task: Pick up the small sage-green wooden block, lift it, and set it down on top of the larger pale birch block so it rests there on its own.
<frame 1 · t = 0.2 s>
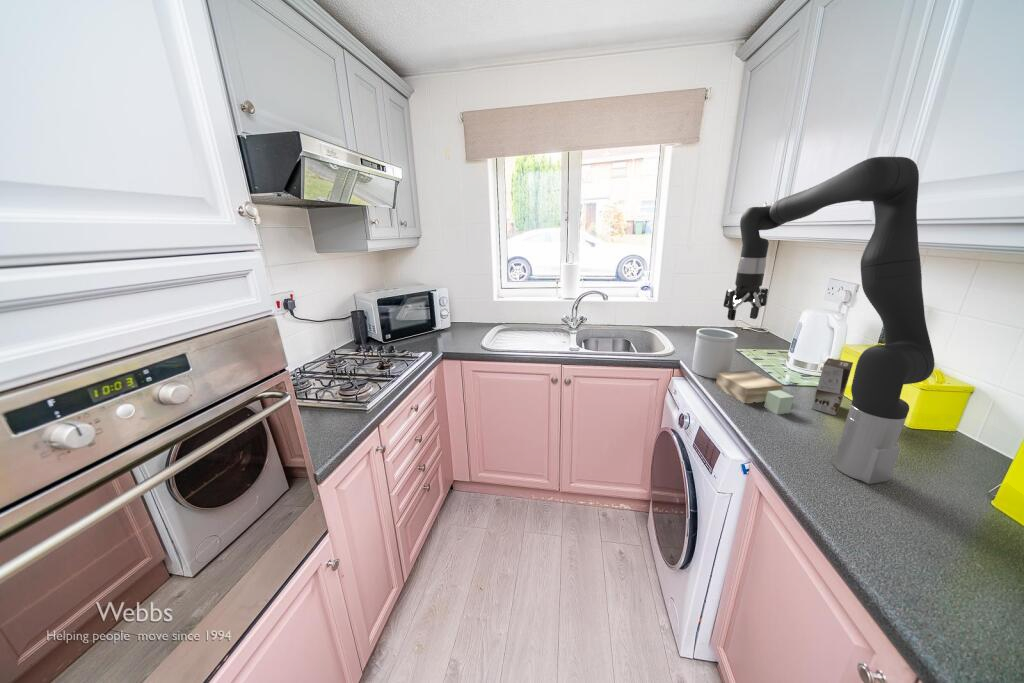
hand: (742, 319, 120), 28 cm above the counter, tool pointing down, fingers open, 8 cm apart
utensil holder: (710, 372, 148), on the counter
birch block: (745, 393, 129), on the counter
sage block: (776, 410, 117), on the counter
coffee box: (825, 408, 118), on the counter
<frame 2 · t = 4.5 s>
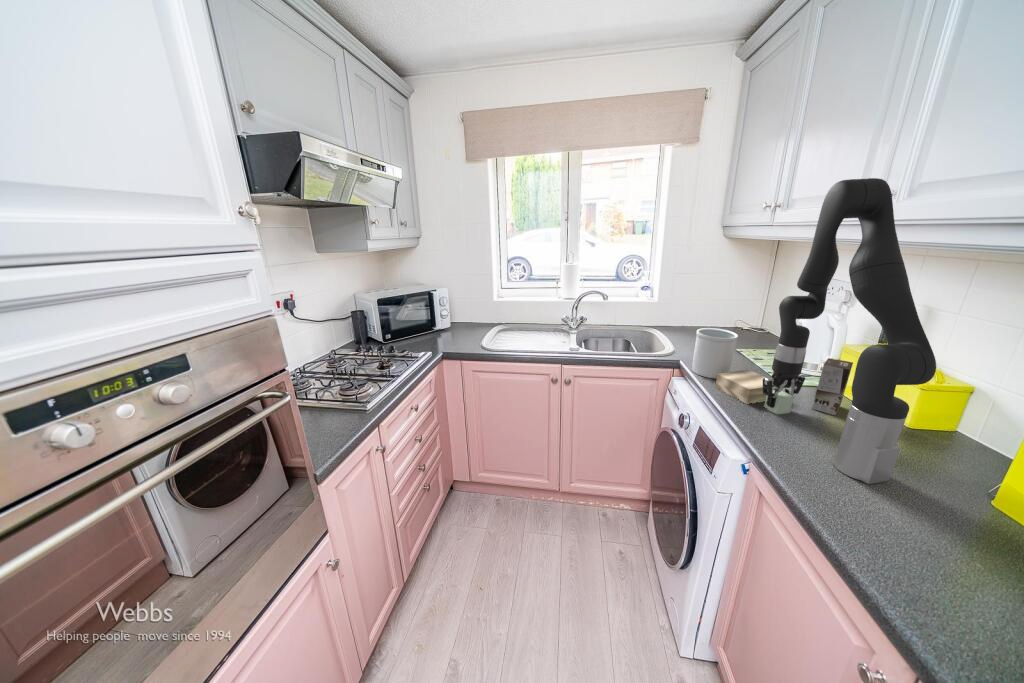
hand: (777, 405, 116), 2 cm above the counter, tool pointing down, fingers closed on sage block, 5 cm apart
sage block: (776, 409, 117), on the counter, touching gripper
everything else where it was.
when the fingers open (9 cm above the counter, at t = 11.5 s): sage block drops 2 cm, resting on birch block.
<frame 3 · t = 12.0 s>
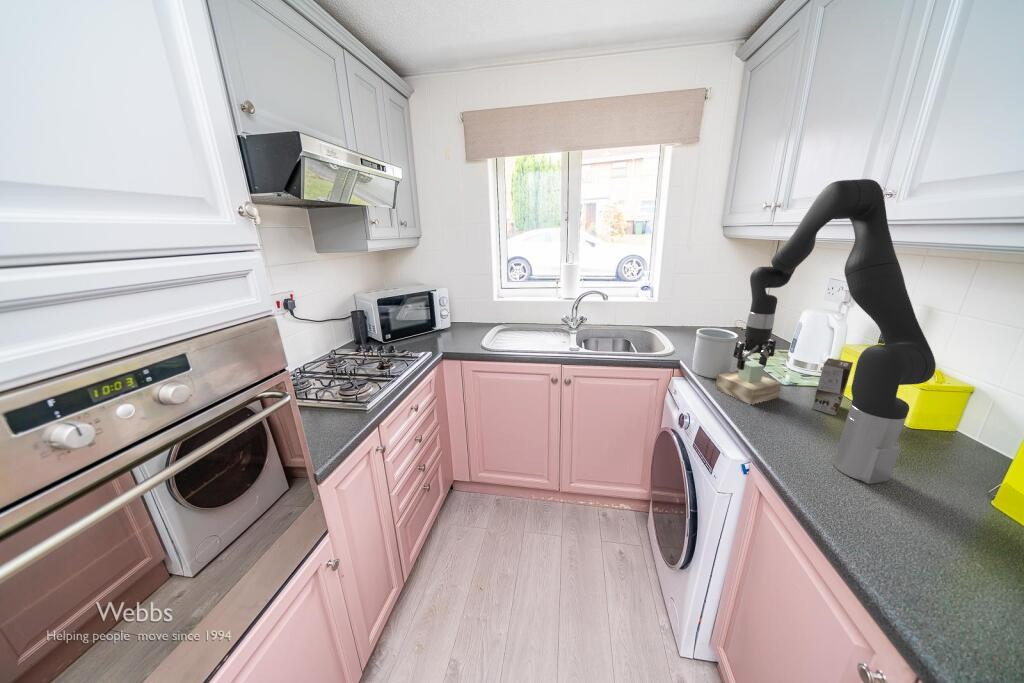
hand: (750, 368, 126), 10 cm above the counter, tool pointing down, fingers open, 8 cm apart
birch block: (745, 393, 129), on the counter, touching sage block
sage block: (749, 379, 127), point 6 cm above the counter, touching birch block
everything else where it was.
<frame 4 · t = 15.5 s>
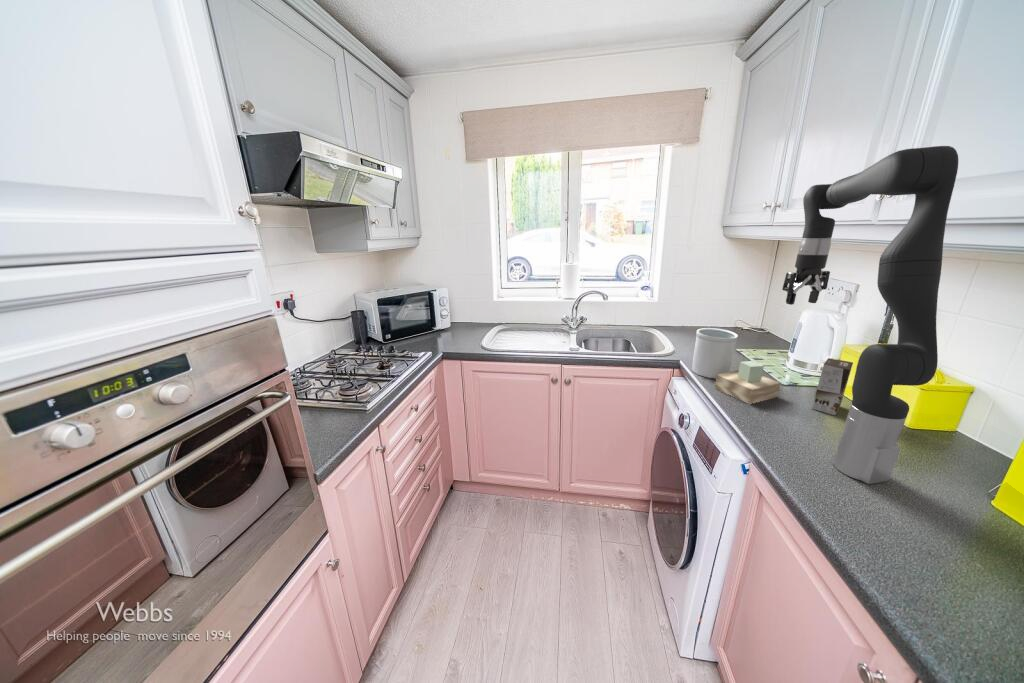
hand: (801, 303, 115), 34 cm above the counter, tool pointing down, fingers open, 8 cm apart
nothing on the counter moved.
at the end: sage block inside the target area on the birch block (0.4 cm from its centre), point 6.0 cm above the birch block's base; sage block tilted 0°; the gripper is holding nothing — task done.
